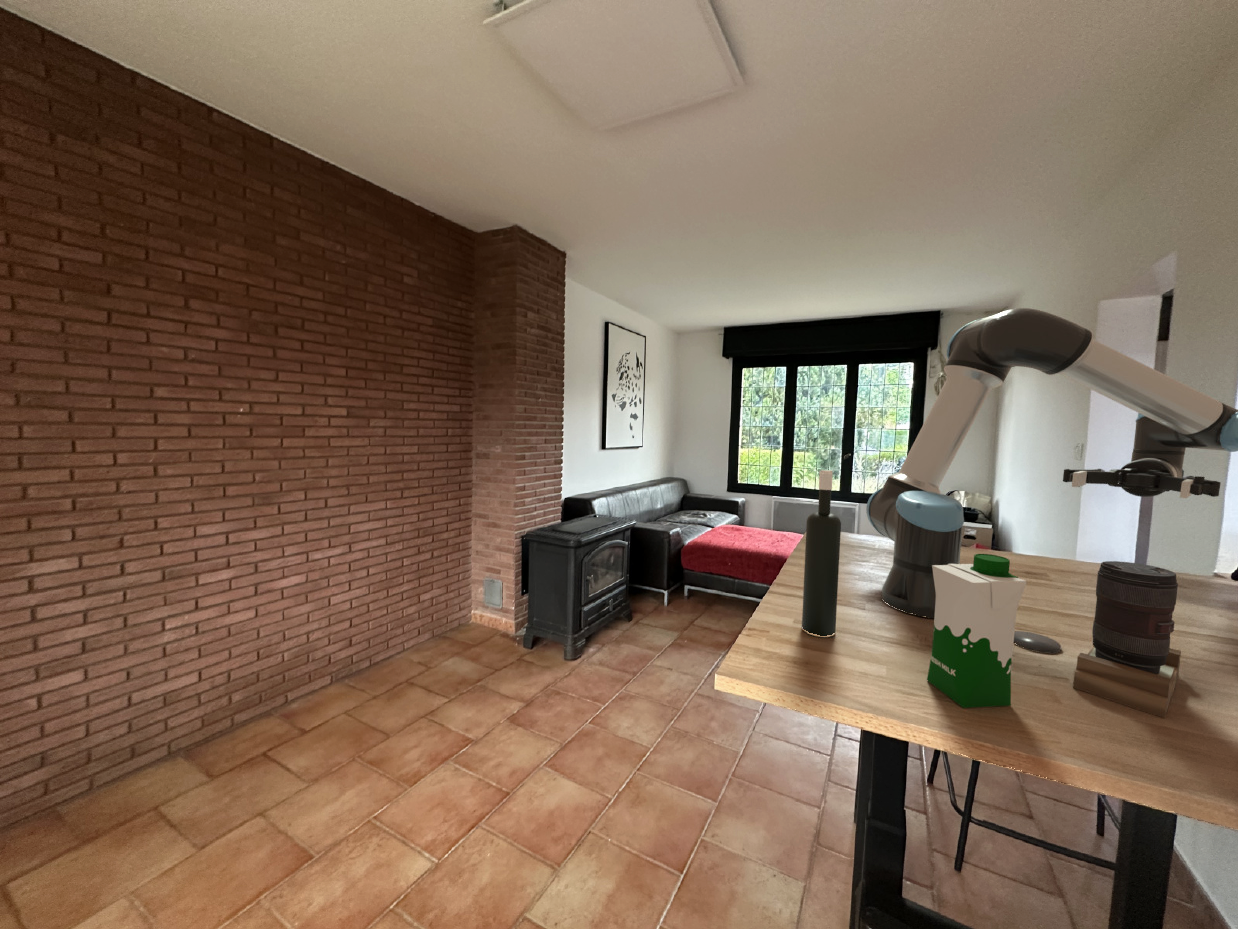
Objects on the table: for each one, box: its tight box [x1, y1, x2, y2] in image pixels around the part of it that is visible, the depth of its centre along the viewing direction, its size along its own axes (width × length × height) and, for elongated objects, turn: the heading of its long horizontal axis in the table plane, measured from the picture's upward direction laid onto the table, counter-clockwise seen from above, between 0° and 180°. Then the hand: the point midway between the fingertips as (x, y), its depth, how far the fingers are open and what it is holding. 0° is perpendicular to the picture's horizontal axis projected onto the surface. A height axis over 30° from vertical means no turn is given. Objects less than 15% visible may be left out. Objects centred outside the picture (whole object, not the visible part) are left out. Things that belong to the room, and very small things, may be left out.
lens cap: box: [1013, 630, 1062, 654], centre depth 85 cm, size 7×7×1 cm
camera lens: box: [1091, 560, 1179, 675], centre depth 72 cm, size 8×8×15 cm
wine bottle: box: [801, 469, 842, 636], centre depth 88 cm, size 6×6×30 cm
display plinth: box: [1072, 645, 1182, 719], centre depth 72 cm, size 17×9×4 cm, turn 127°
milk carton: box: [926, 553, 1027, 709], centre depth 69 cm, size 9×9×20 cm
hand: (1126, 484), depth 86 cm, fingers open, 13 cm apart
